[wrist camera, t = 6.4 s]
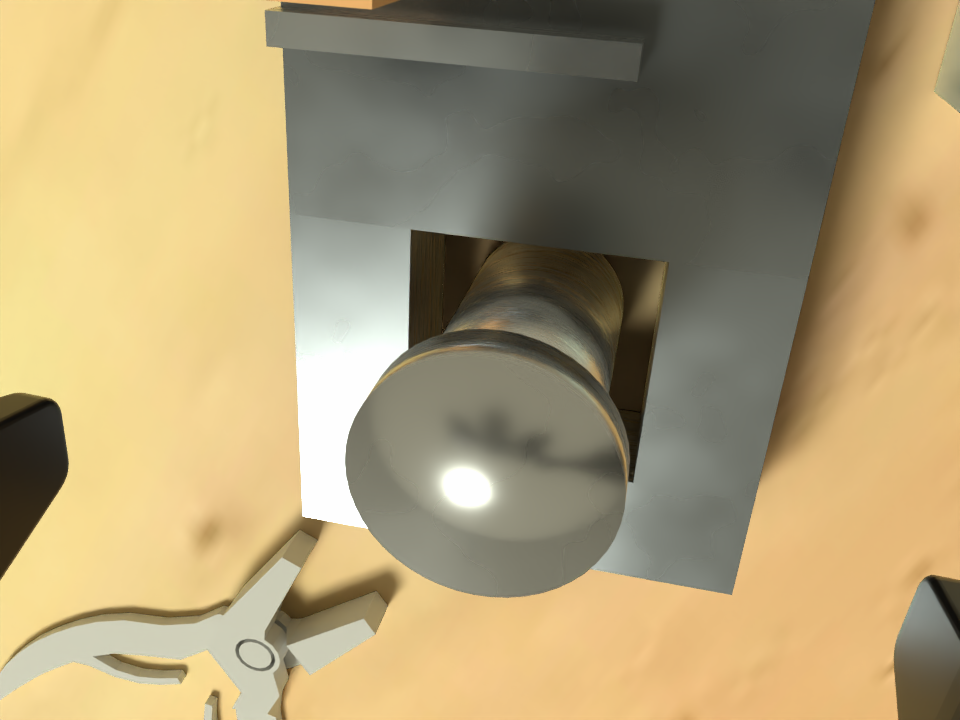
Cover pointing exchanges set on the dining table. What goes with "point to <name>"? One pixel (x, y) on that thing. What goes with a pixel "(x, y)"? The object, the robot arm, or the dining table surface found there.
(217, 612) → the pliers
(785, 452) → the dining table surface
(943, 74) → the tray
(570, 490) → the pin
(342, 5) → the block
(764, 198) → the metallic box with opening
